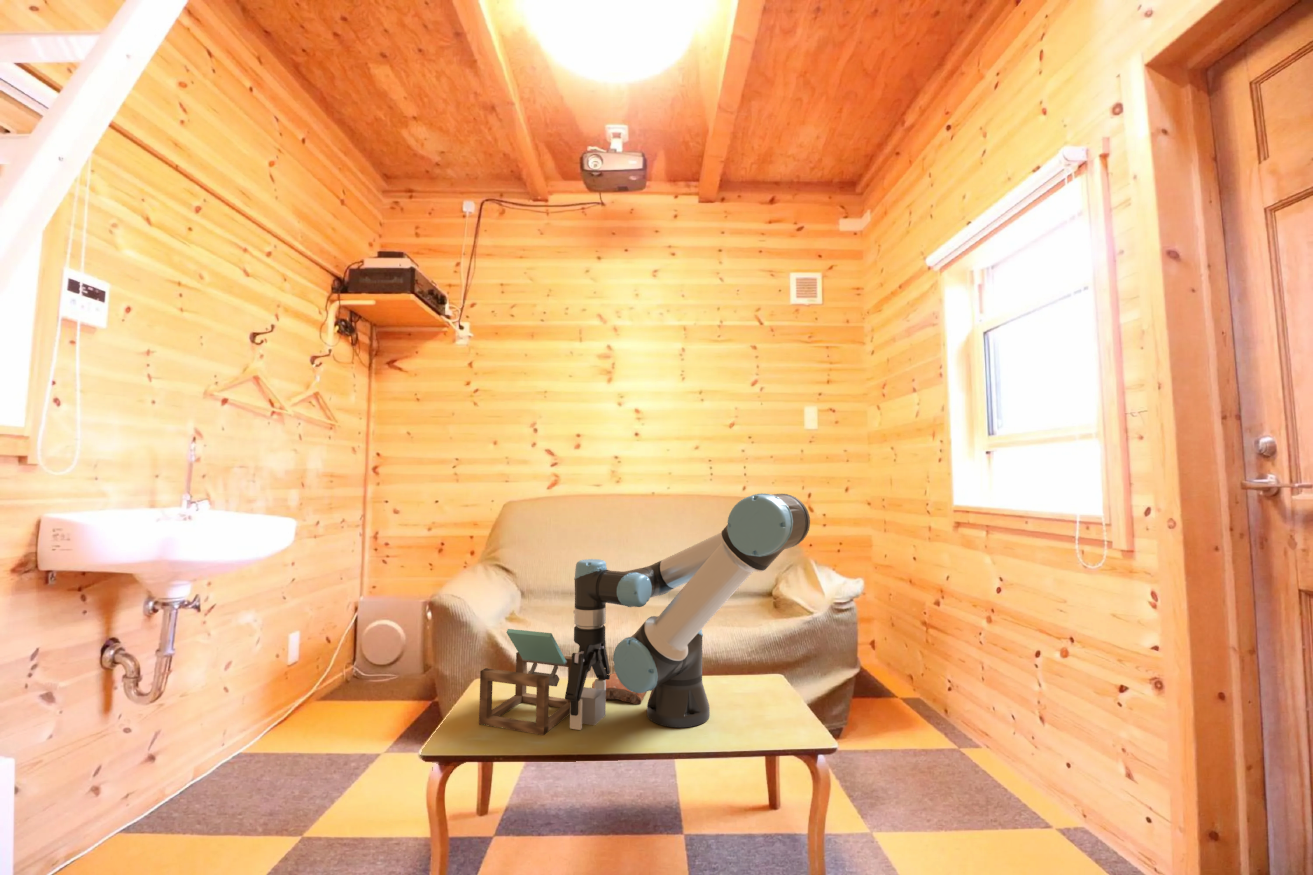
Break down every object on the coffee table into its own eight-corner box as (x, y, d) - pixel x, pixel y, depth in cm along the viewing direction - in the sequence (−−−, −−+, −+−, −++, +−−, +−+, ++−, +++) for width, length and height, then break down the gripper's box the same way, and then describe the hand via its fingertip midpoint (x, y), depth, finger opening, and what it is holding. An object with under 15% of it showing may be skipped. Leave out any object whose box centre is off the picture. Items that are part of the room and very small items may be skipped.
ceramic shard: (604, 662, 161) (655, 673, 158) (599, 686, 160) (651, 698, 156) (588, 671, 147) (644, 684, 143) (583, 697, 145) (639, 711, 142)
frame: (578, 706, 141) (579, 657, 142) (543, 734, 125) (544, 679, 126) (519, 697, 147) (520, 650, 148) (478, 724, 131) (480, 670, 132)
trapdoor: (564, 687, 140) (571, 668, 143) (544, 651, 131) (552, 632, 135) (520, 681, 144) (529, 663, 147) (498, 646, 135) (507, 628, 139)
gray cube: (605, 715, 136) (605, 689, 137) (594, 725, 131) (595, 698, 131) (582, 712, 138) (583, 686, 139) (571, 721, 132) (571, 695, 133)
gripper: (597, 612, 149) (595, 696, 147) (550, 636, 126) (548, 736, 124) (623, 615, 147) (622, 700, 145) (581, 639, 123) (579, 741, 122)
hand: (588, 717), depth 134 cm, fingers open, 12 cm apart
